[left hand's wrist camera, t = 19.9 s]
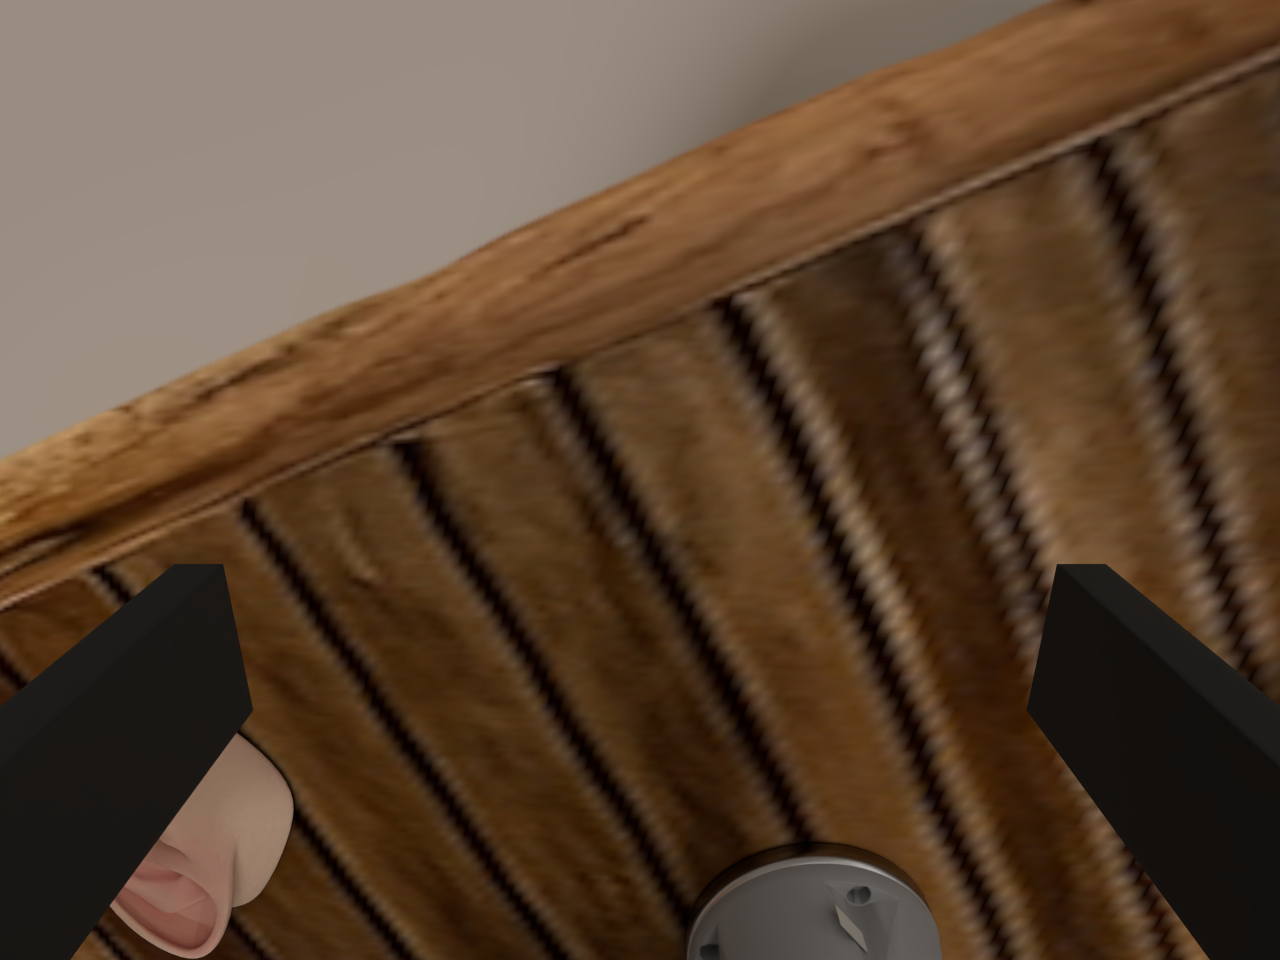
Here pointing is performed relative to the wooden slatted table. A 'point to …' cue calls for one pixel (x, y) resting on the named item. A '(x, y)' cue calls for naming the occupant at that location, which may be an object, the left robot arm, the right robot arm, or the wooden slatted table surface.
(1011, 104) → the wooden slatted table surface
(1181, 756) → the left robot arm
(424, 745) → the wooden slatted table surface
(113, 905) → the anatomical model
